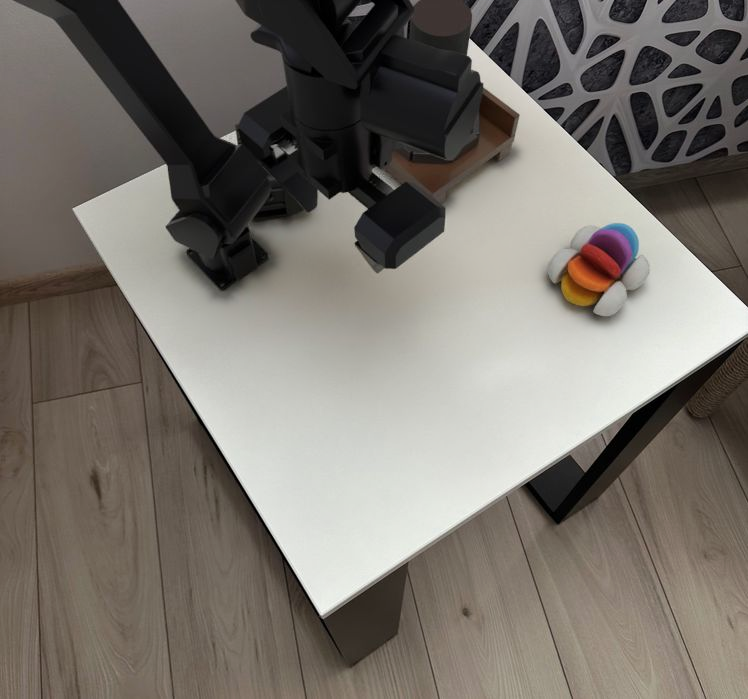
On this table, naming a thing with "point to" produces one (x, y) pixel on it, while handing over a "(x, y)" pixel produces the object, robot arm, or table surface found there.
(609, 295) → the rainbow disc toy
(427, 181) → the shelf
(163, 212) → the table surface
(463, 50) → the deodorant
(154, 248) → the table surface
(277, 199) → the end cap
